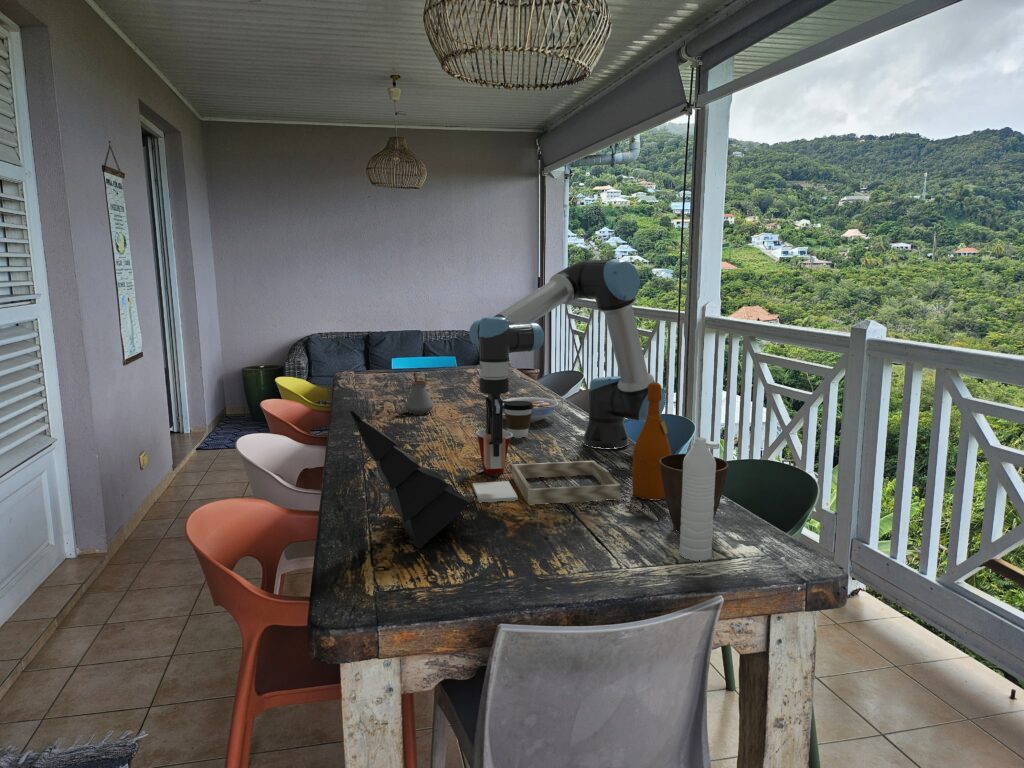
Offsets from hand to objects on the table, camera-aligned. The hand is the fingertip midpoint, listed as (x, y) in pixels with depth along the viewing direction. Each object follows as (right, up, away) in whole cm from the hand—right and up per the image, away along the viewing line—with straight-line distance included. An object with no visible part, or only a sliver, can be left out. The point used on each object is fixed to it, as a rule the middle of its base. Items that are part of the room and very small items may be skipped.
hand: (494, 464), depth 186 cm
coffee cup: (+7, +2, +66) cm, 66 cm away
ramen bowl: (+11, +7, +92) cm, 92 cm away
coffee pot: (-35, +10, +112) cm, 117 cm away
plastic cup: (0, -5, +21) cm, 22 cm away
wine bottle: (+41, -8, -1) cm, 42 cm away
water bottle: (+43, -15, -40) cm, 61 cm away
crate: (+19, -7, +6) cm, 21 cm away
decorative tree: (-18, -13, -30) cm, 37 cm away
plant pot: (+45, -12, -25) cm, 53 cm away
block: (0, 0, 0) cm, 0 cm away
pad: (0, -8, +1) cm, 8 cm away
